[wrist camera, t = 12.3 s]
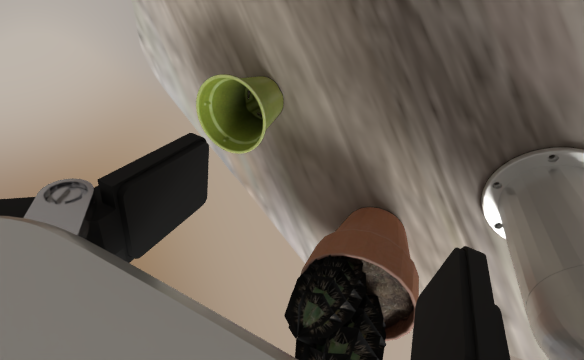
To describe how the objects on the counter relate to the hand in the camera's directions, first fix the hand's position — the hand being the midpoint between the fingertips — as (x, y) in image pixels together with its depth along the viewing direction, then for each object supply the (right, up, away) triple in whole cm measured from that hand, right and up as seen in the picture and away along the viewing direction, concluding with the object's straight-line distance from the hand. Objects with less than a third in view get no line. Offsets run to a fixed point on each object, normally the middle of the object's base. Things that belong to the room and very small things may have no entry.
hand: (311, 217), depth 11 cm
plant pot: (-4, +13, +31) cm, 34 cm away
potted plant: (+12, -6, +34) cm, 36 cm away
